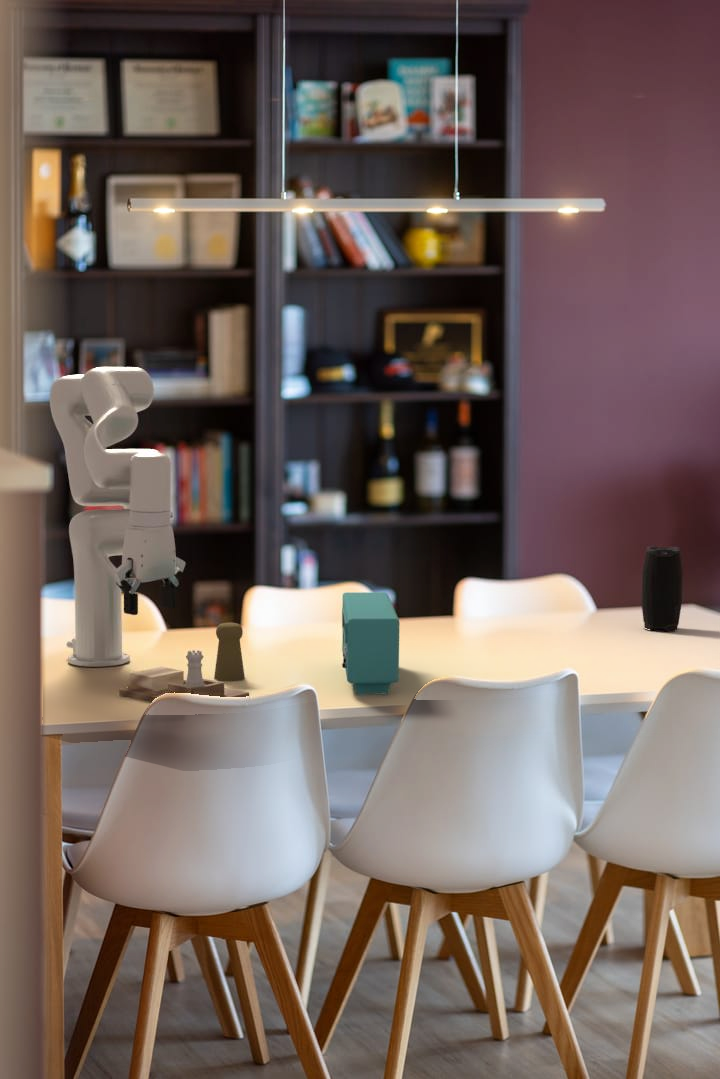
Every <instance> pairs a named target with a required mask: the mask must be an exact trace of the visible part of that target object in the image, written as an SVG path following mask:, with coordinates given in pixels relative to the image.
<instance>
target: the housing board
mask: <svg viewBox="0 0 720 1079" xmlns="http://www.w3.org/2000/svg"><path fill="white" fill-rule="evenodd" d="M186 680H187V679H184V684H185V683H186V682H185V681H186ZM203 680H204V683H205V684H206V685H204V686H199V687H190V686H185V685H180V684H174V683H169V684H168V689H165V690H160V691H158V690H153V689H148V688H143V687H139V686H134V685H130V684H126V686H127V687H124V688H119V690H118V691H119V692H118V693H119V694H118V695H119V697H124V698H128V699H133V700H136V701H137V700H138V701H142V702H146V703H151V702H152V701H153V700H154V699H155V698H157V697H159V696H161V695H163V694H165V693H174V692H175V693H191V694H199V695H209V696H220V697H246V696H249V697H250V692H248V691H243V690H238V689H234V688H233V689H232V688H228V687H225V682H224V681H218V680H212V679H206V678H203Z"/></svg>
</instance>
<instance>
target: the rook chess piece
mask: <svg viewBox="0 0 720 1079" xmlns="http://www.w3.org/2000/svg"><path fill="white" fill-rule="evenodd" d="M202 653H203V652H202V650H197V651H196V650H195V649H194V650H192V651H191V650H188V651H187V655H186V656H185V658H186V660H187V665H186V666H187V675H186V676H187V677H186V679H185V680H186V681H185V682H186V683H185V684H184V685H185V686H190V687H199V686H204V685H206V684H205V683H204V680H203V679H204V678H203V672H202V666H203V664H202V660H203V658H204V655H203V654H202Z"/></svg>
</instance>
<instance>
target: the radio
mask: <svg viewBox="0 0 720 1079" xmlns="http://www.w3.org/2000/svg"><path fill="white" fill-rule="evenodd" d="M341 609H342V610H341V613H342V614H341V619H342V620H341V625H342V626H341V627H342V628H341V629H342V646H341V648H342V649H341V651H342V657H343V661H342V664H341V667H342V668H344V670H345V674H346V681H347V683H349V684H352V685H353V688H354V691H355V695H380V694H381V693H386V694H389V692H390V688H391V684H397V683H398V682H399V678H400V676H399V675H400V674H399V673H400V671H399V669H400V620H399V617H398V615H397V613H396V610H395V607H394V605H393V603H392V600H391V598H390V596H389V594H388V593H387V592H344V593H343V594H342V608H341Z"/></svg>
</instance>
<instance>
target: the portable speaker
mask: <svg viewBox="0 0 720 1079" xmlns="http://www.w3.org/2000/svg"><path fill="white" fill-rule="evenodd" d="M681 556H682V555H681V549H680V547H678V546H669V547H657V546H656V545H655V546H654V545H651V546H647V547H646V552H645V557H644V562H643V567H642V570H641V571H642V574H641V575H642V577H641V611H642V612H641V613H642V618H643V623H644V629H645V628H647V629H650V630H652V631H653V630H654V629H664V631H665V632H666V631H672V632H676V631H678V626H679V623H680V617H681V610H682V602H683V601H682V600H683V599H682V598H683V580H684V579H683V574H684V573H683V565H682V559H681ZM675 630H676V631H675Z"/></svg>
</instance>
